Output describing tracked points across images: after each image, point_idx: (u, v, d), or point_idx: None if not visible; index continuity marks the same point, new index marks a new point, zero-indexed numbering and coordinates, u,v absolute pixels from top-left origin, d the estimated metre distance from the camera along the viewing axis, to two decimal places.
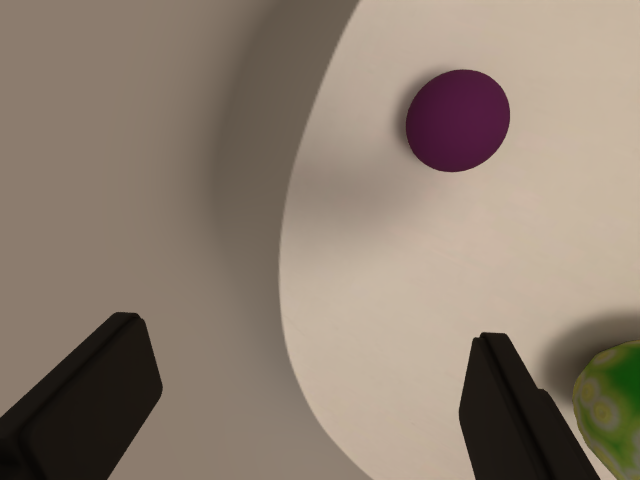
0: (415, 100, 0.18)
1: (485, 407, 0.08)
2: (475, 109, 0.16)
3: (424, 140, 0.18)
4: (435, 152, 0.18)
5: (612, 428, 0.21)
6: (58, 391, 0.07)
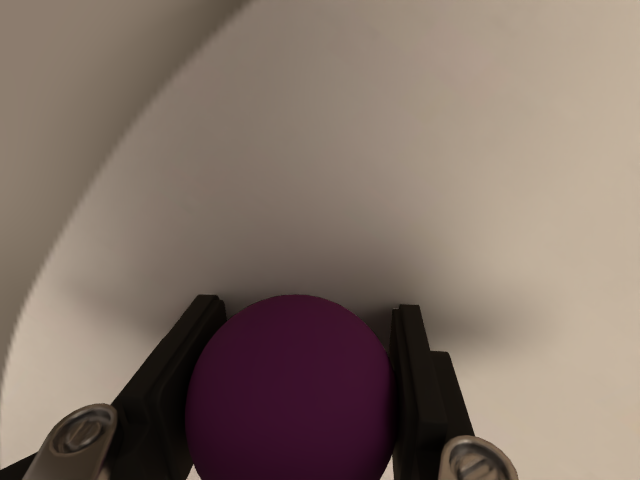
0: (211, 347, 0.08)
1: (394, 366, 0.09)
2: None
3: (191, 457, 0.07)
4: None
5: None
6: (171, 361, 0.08)
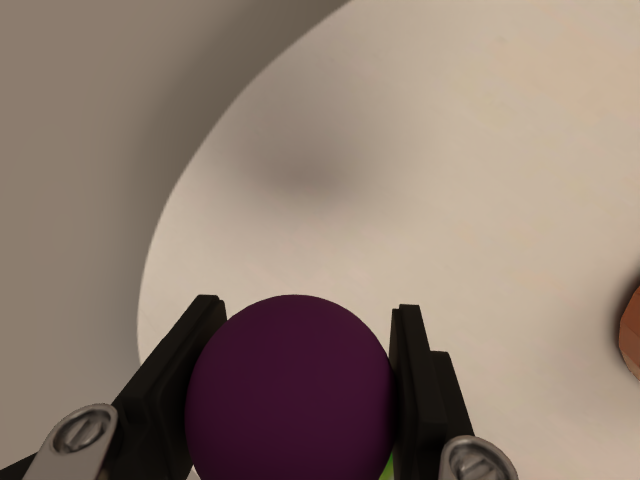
0: (211, 347, 0.08)
1: (394, 366, 0.09)
2: None
3: None
4: None
5: None
6: (171, 361, 0.08)
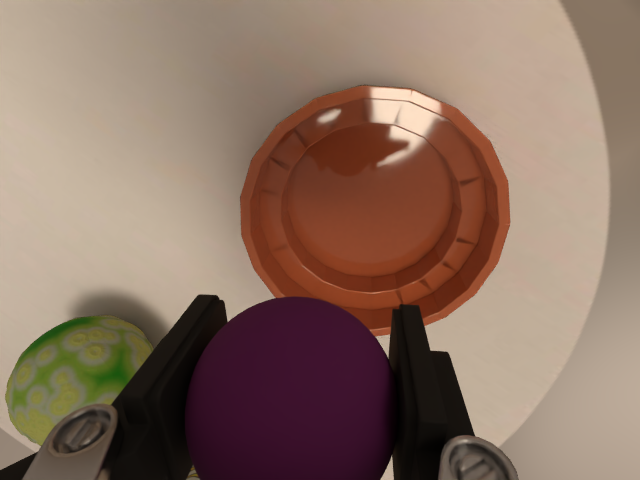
0: (211, 349, 0.08)
1: (394, 366, 0.09)
2: None
3: (191, 458, 0.07)
4: None
5: None
6: (171, 361, 0.08)
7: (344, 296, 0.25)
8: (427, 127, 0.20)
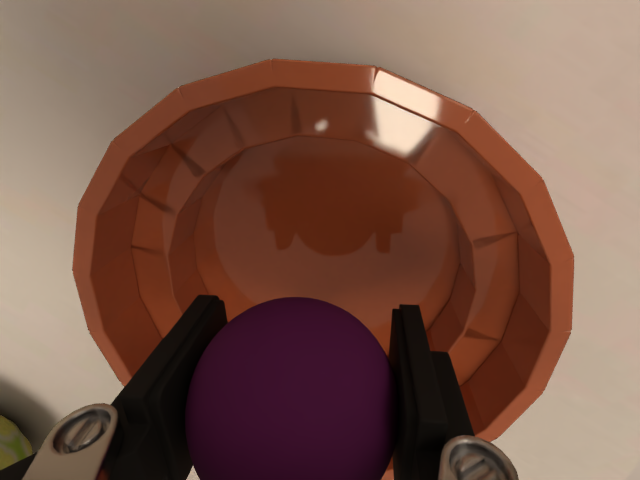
0: (212, 349, 0.08)
1: (394, 366, 0.09)
2: None
3: (191, 459, 0.07)
4: None
5: None
6: (171, 361, 0.08)
7: None
8: (414, 144, 0.10)
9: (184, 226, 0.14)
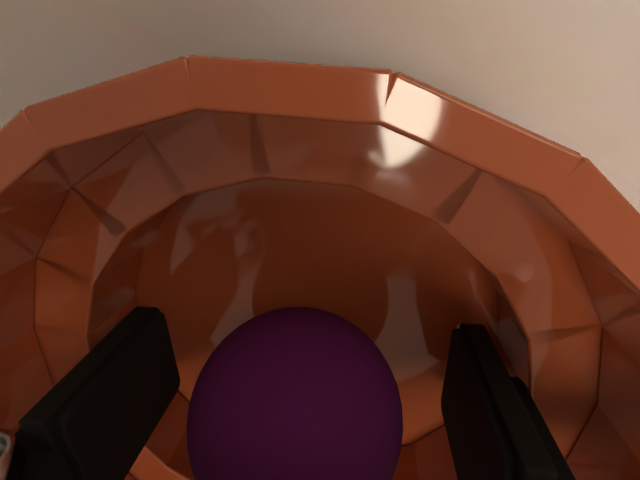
0: (213, 365, 0.08)
1: (462, 394, 0.08)
2: None
3: (194, 476, 0.07)
4: None
5: None
6: (87, 381, 0.08)
7: None
8: (446, 194, 0.07)
9: (113, 293, 0.10)
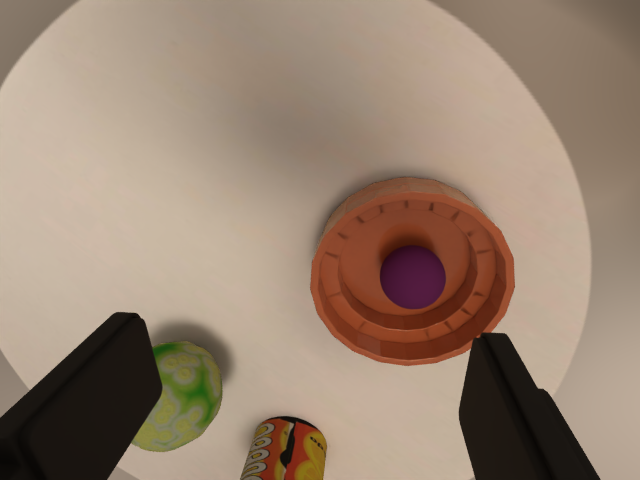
0: (394, 258, 0.27)
1: (485, 407, 0.08)
2: (429, 282, 0.26)
3: (393, 287, 0.27)
4: (398, 296, 0.27)
5: None
6: (58, 391, 0.07)
7: (383, 332, 0.31)
8: (453, 213, 0.26)
9: None
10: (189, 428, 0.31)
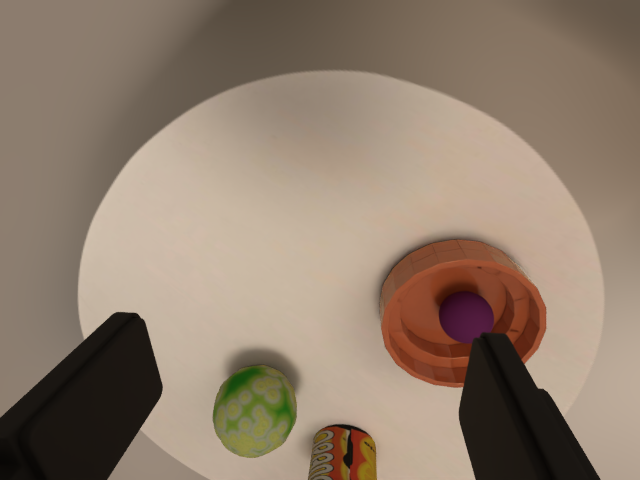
0: (454, 304, 0.34)
1: (485, 407, 0.08)
2: (486, 322, 0.33)
3: (457, 328, 0.34)
4: (461, 335, 0.34)
5: (216, 403, 0.40)
6: (58, 391, 0.07)
7: (434, 359, 0.39)
8: (497, 270, 0.33)
9: None
10: (278, 439, 0.39)
